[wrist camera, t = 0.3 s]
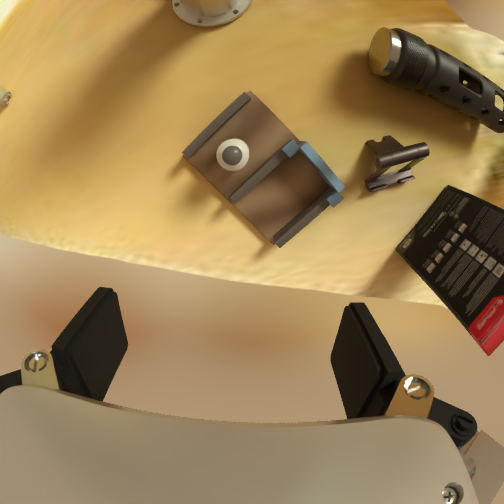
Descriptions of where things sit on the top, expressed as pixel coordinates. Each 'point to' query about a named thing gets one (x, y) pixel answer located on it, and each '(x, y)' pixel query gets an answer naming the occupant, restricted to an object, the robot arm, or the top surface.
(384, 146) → the portable electronic device stand
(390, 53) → the muzzle brake
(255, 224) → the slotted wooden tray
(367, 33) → the top surface
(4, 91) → the cable
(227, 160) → the cream plastic cylinder
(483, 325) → the graphics card box
